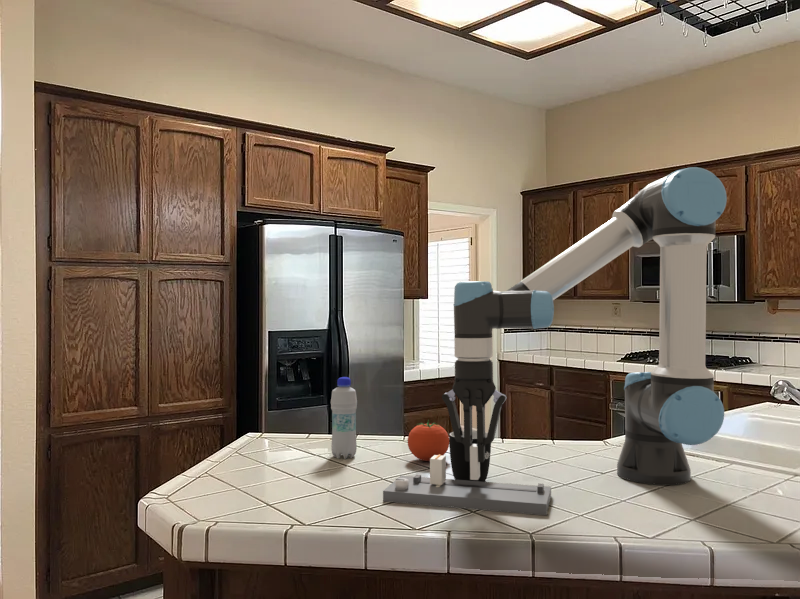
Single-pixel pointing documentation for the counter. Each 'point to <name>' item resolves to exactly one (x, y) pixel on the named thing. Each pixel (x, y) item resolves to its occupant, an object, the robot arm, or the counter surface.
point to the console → (470, 495)
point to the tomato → (428, 441)
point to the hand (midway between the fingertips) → (475, 478)
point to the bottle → (344, 419)
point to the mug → (463, 467)
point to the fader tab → (438, 469)
